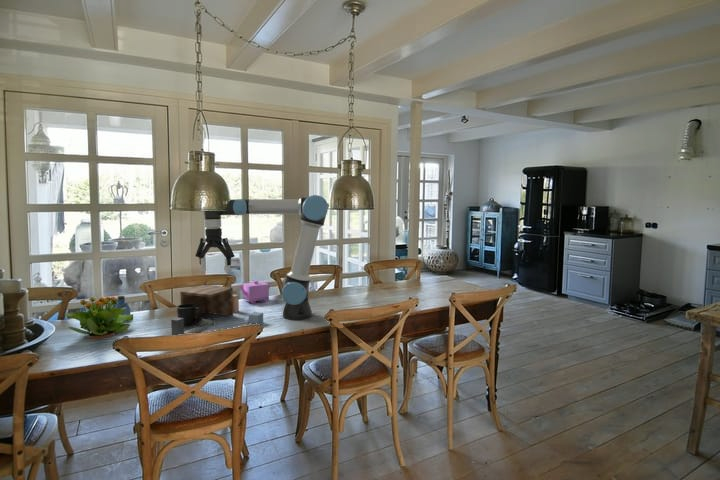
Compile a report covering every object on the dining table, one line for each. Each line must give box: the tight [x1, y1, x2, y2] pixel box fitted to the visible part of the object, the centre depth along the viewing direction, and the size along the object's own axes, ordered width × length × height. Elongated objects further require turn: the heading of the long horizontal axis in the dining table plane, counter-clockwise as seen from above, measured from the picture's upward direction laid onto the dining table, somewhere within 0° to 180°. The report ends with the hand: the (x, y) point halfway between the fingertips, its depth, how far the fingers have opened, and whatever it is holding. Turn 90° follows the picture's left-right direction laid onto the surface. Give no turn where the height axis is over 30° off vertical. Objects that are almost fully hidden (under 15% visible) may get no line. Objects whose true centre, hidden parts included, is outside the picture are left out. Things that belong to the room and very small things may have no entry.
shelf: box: [179, 284, 234, 317], centre depth 214 cm, size 18×18×15 cm
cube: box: [248, 311, 264, 325], centre depth 207 cm, size 5×5×5 cm
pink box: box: [236, 280, 271, 305], centre depth 248 cm, size 20×10×12 cm, turn 124°
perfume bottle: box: [113, 295, 131, 315], centre depth 210 cm, size 6×6×12 cm
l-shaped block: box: [233, 294, 240, 313], centre depth 229 cm, size 16×4×9 cm, turn 71°
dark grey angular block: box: [170, 316, 215, 336], centre depth 194 cm, size 13×24×9 cm, turn 158°
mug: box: [176, 304, 203, 328], centre depth 203 cm, size 8×12×10 cm
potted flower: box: [64, 296, 134, 340], centre depth 185 cm, size 25×24×18 cm
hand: (215, 271), depth 202 cm, fingers open, 13 cm apart
